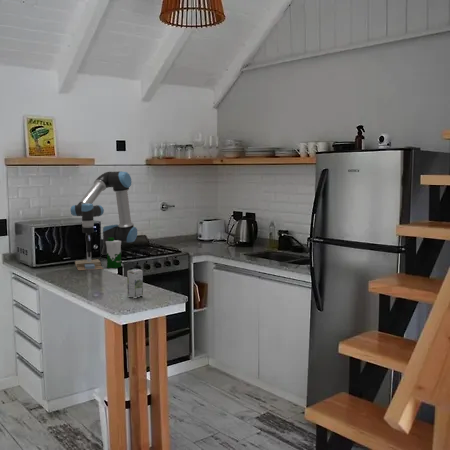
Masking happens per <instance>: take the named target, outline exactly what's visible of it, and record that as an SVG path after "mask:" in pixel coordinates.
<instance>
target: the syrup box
mask: <svg viewBox="0 0 450 450" xmlns="http://www.w3.org/2000/svg"><path fill="white" fill-rule="evenodd" d="M126 272H127V273H126V274H127V279H126V280H127V297H128V296H130V297H138V296H141V295H143V296H144V292H143V291H144V283H143V282H144V281H143V280H144V277H143V275H144V272H143V270H142V269H139V268H133V269H129V270H127V271H126Z"/></svg>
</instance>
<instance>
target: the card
mask: <svg viewBox="0 0 450 450" xmlns="http://www.w3.org/2000/svg"><path fill="white" fill-rule="evenodd" d="M85 269H95V265H94V264H85Z"/></svg>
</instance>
